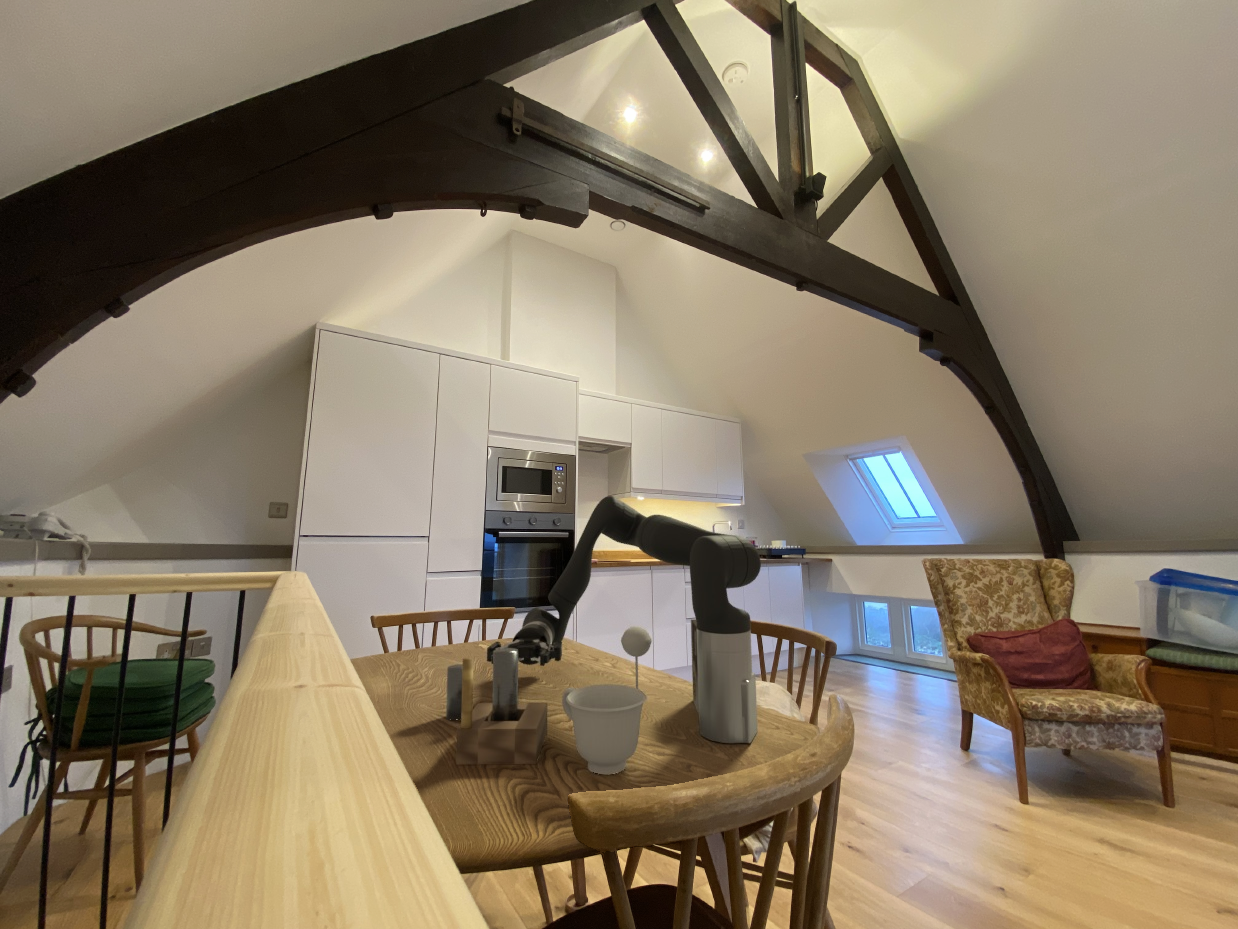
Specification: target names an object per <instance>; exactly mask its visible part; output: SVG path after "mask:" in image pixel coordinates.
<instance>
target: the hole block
mask: <svg viewBox="0 0 1238 929" xmlns="http://www.w3.org/2000/svg"><path fill="white" fill-rule="evenodd" d="M462 664H463V665H462V711H461V720H460V721H461V722H460V725H459V726H458V728H456V743H455V744H456V746H455V748H456V750H455V752H456V753H455V765H533V764H534V765H537V763H538V760H539V757H540V754H541V751H542V750H543V747H542V746H544V744H545V741H546V738H547V735H548V702H518V721H492V703H493V702H479V703H478V702H477V704H476V705H475V706H474V708H473V703H474V702H473V700H474V699H473V698H474V696H473V694H474V693H473V691H474V684H473V683H474V658H473V657H465V658H462ZM544 740H545V741H544ZM543 743H544V744H543Z"/></svg>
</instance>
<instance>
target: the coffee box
mask: <svg viewBox="0 0 1238 929" xmlns="http://www.w3.org/2000/svg"><path fill="white" fill-rule="evenodd" d="M690 637H691V638H690V639H691V644H690V646H691V668H692V669H691V670H692V671H691V672H692V674H691V675H692V676H691V677H692V700H693V701H692V702H693V704H694V706H695V709H696V711H697V714H698V715H699V702H698V664H697V624H696V619H690Z"/></svg>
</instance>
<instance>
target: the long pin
mask: <svg viewBox="0 0 1238 929" xmlns="http://www.w3.org/2000/svg"><path fill="white" fill-rule="evenodd" d="M518 689H519V661H518V649H515V648H502V649H497V650H494V651H493V664H492V702H491V703H492V721H518V703H519V698H518V697H519V693H518V692H519V690H518Z"/></svg>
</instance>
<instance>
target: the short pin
mask: <svg viewBox="0 0 1238 929" xmlns="http://www.w3.org/2000/svg"><path fill="white" fill-rule="evenodd" d="M462 665H463V663H459V664H457V663H456V664H451V665H449V666H448V667H447V671H446V703H445V704H446V705H445V706H446V708H445V714H446V716H445V719H446V718H447V719H451V720H456V719H461V711H462ZM447 719H446V720H447ZM451 720H450V721H451ZM456 721H457V720H456Z"/></svg>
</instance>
